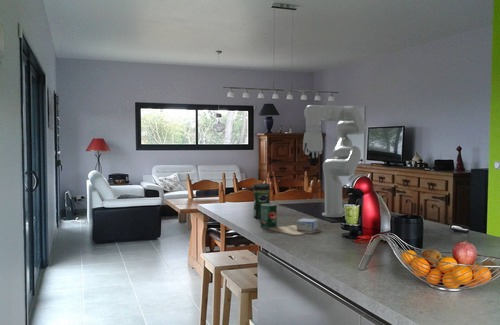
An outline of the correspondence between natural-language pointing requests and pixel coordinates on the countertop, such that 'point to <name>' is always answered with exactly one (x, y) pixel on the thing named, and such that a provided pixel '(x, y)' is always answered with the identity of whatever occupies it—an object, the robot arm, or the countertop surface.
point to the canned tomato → (268, 215)
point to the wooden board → (292, 230)
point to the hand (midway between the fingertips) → (313, 165)
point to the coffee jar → (260, 197)
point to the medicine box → (307, 224)
